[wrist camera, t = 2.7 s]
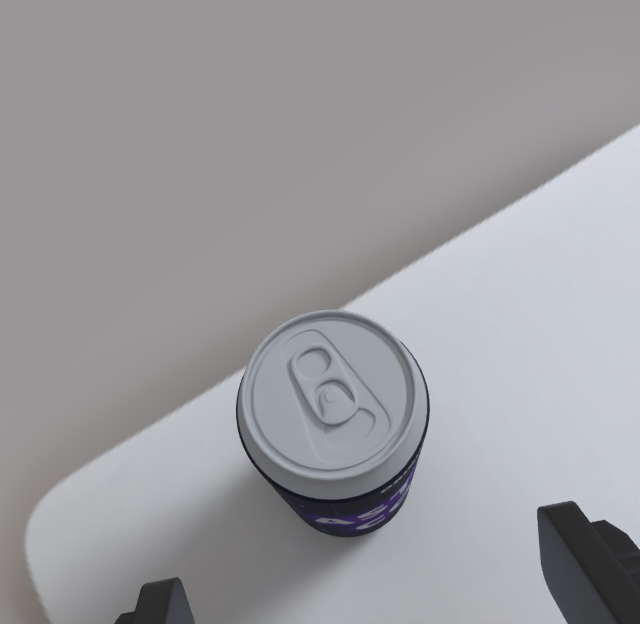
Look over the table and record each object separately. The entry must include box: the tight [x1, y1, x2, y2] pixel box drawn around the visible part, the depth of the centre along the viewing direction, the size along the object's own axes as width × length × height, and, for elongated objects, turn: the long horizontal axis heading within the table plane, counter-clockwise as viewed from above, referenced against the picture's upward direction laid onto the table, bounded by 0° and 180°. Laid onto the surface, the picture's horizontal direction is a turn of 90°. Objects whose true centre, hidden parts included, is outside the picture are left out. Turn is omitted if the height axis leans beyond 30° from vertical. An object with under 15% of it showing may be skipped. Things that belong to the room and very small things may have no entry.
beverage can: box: [236, 310, 430, 537], centre depth 22 cm, size 6×6×12 cm
